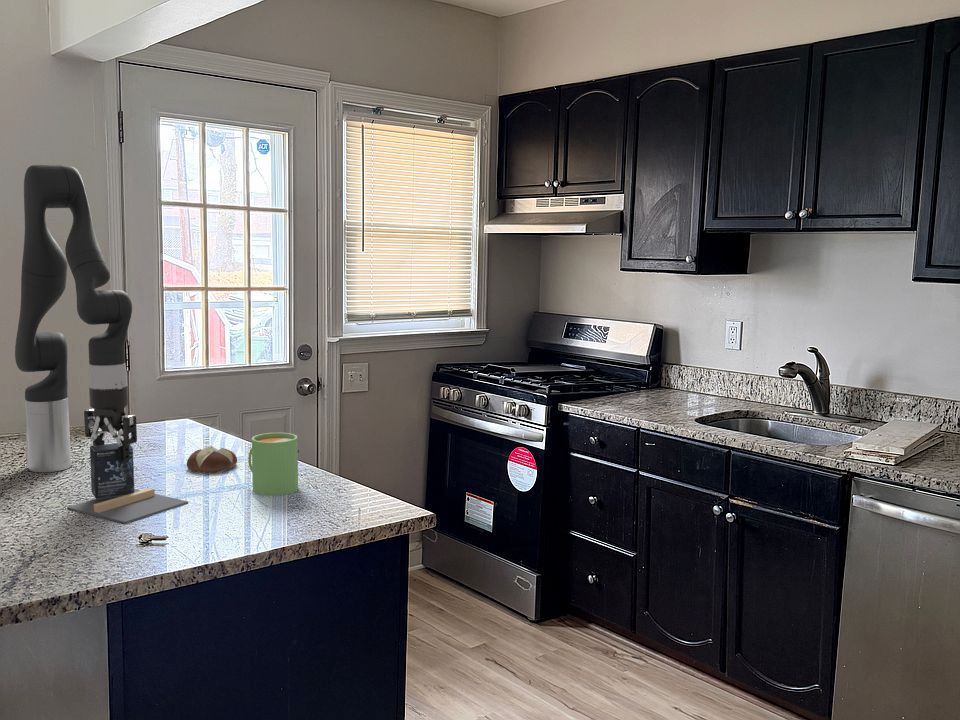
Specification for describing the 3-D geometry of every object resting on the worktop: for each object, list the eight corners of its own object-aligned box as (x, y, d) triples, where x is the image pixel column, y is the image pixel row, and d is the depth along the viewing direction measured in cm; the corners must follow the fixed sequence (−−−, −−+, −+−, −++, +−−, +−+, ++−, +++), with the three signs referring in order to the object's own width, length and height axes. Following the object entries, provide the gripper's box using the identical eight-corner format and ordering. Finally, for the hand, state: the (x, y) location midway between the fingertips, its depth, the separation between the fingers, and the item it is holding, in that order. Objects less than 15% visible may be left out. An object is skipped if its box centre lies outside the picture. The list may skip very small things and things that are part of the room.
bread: (179, 471, 211) (178, 451, 210) (211, 460, 222) (210, 441, 221) (215, 476, 207) (215, 456, 206) (246, 465, 217) (245, 446, 217)
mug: (308, 486, 199) (307, 435, 198) (279, 498, 190) (278, 444, 188) (264, 479, 205) (263, 429, 203) (234, 490, 195) (233, 438, 194)
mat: (67, 508, 180) (66, 500, 180) (131, 490, 194) (131, 482, 194) (125, 523, 171) (124, 514, 171) (188, 503, 185) (187, 494, 185)
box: (96, 499, 182) (93, 450, 180) (91, 493, 187) (88, 445, 185) (135, 494, 186) (133, 446, 185) (129, 487, 191) (127, 441, 189)
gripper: (70, 383, 183) (74, 459, 186) (115, 390, 176) (119, 468, 179) (101, 379, 190) (105, 452, 192) (146, 385, 183) (148, 461, 185)
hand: (111, 460), depth 185 cm, fingers closed on box, 7 cm apart
